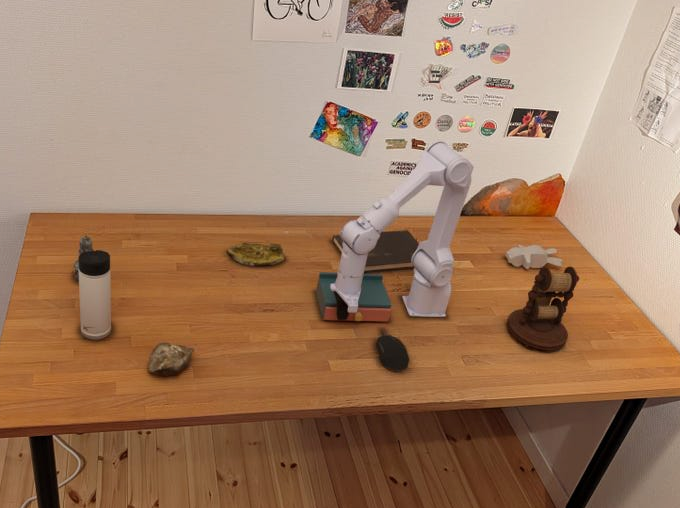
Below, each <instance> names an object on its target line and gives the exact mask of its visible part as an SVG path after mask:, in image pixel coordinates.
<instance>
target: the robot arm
mask: <svg viewBox="0 0 680 508" xmlns="http://www.w3.org/2000/svg"><path fill="white" fill-rule="evenodd" d="M474 167H475V166H474V165H473V164H472V163H471V162H470V160H469V159H468V158H466V157H464V156H463V155H462V154H460V153H458V151H456V150H454V149H453V148H452V147H450V145H448V144H447V142H445V141H443V140H436V141H433V142H432V143H431V144H430V145H429V146H428V147H426V149H425V150H424V151H423V152H421V154H420V155H419V159H418V163H417V165H416V167H414V168H413V170H412V171H411V172H410V173H409V174H408V175H407V177H406V178H405V179H404V180H403V181H401V183H400V184H399V185H398V186H397V187H396V188H395V189H394V190H393V191H392V193H390V195H389V196H381V197H379V198H378V199H377V200H376V201H375V202H373V204H372V205H371V206H369V208H367V210H365V211H364V212H363V213H362V215H360V216H359V217H358V218H356V219H352V220H350V221H348V222H346V223H345V224H344V225H343V227H342V229H341V230H340V231H339V235H340V237H341V238H342V240H343V244H342V246H343V249H342V255H341V254H340V255H341V256H340V261H339V266H338V270H337V273H338V274H337V279H336V282H335V283H334V284H331V285H330V288H331V290H332V291H334V295H335V299H336V304H337V318H338V320H337V321H347V320H346V319H347V318H348V315H349V312H350V313H357V309H358V301H359V296H360V292H361V284H362V279H363V274H365V273H364V270H365V265H366V260H367V256H368V252H369V251H371V250H372V249H373V248H374V247H375V245H376V243H377V240H378V239H379V238H380V235H379V234H380V233H381V232H385V230H386V229H387V228H388V227H389V226H390V225H392V224H393V222H394V221H395V220H397V219H398V218H399V216H400V209H401V208H402V207H403V206H404V205H406V204H407V203H408V202H409V201H410V200H412V199H413V198H414V197H415V196H416V195H419V193H420V192H421V191H423V189H425V188H427V187H428V186H435V187H436V186H437V187H443V189H442V192H441V195H440V199H439V201H438V205H437V208H436V211H435V215H434V218H433V221H432V224H431V226H430V230H429V233H428V237H427V239H426V240H423V241H420V242H418V243H419V246H418V248H417V250H416V251H415V253H414V254H413V256H412V258H411V264H412V265H413V266H414V268H413V270H412V272H413V278H412V281H411V284H410V285H411V286H410V289H409V293H408V295H402V296H401V298H402V301H403V303H404V307H405V308H406V311H407V314H408V316H409V317H418V318H419V317H422V318H423V317H424V318H425V317H427V318H445V317H447V315H446V311H447V308H448V305H449V301H450V299H451V294H452V284H451V283H452V282H451V280H452V277H453V274H454V268H453V267H454V263H455V259H454V255H453V253H452V251H451V248H450V247H451V244H452V241H453V238H454V235H455V232H456V229H457V226H458V223H459V220H460V218H461V214H462V210H463V208H464V205H465V202H466V199H467V196H468V193H469V190H470V186H471V184H472V173H473V170H474Z"/></svg>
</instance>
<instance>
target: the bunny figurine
mask: <svg viewBox="0 0 680 508" xmlns="http://www.w3.org/2000/svg"><path fill="white" fill-rule="evenodd" d="M557 252H558V250H557V249H556V248H554V247H551V248H547V249H544V248H543V247H542V246H541V245H538V244H531V245H528V246H524V245H523V244H518V245H517V246H513V247H511V248H510V249H508V250H505V258H506V259H507V262H508V264H511V265H512V266H513V267H517V268H519V267H521V266H522V267H524V269H526V270H529V269H530V268H532V269H539V268H540V269H541V268H542V267H544V266H546V264H547V263H548V264H551V265H554V266H557V267H562V266H563V265H564V264H563V263H564V260H563V259H562V258H559V257H553V256H552V255H556V254H557ZM551 256H552V257H551Z"/></svg>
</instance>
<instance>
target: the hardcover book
mask: <svg viewBox="0 0 680 508" xmlns="http://www.w3.org/2000/svg"><path fill="white" fill-rule="evenodd" d="M379 235H380V238H379V239H378V240H377V243H376V245H375V247H374V248H373V249H372V250H371V251H369V252H368V256H367V260H366V265H365V270H364V274H366V273H374V272H375V273H376V272H386V271H396V270H407V269H414V266H413V265H412V264H411V258H412V256H413V254H414V253H415V251H416V250H417V248H418V246H419V243H420V242H418V240H417V239H416V238H415V237H414V236H413V234H412V233H411V232H410V231H409V230H408V229H402V230H388V231H385V230H384V231H383V232H381V233H380V234H379ZM331 241H332V243H333V244H334V246H335V248H336V249H337V251H338V252H339V254H340V255H342V249H343V246H342V244H343V240H342V238H341V237H340V234H333V235H332V240H331Z"/></svg>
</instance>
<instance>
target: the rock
mask: <svg viewBox="0 0 680 508" xmlns="http://www.w3.org/2000/svg"><path fill="white" fill-rule="evenodd" d="M194 351H195V348H194V347H190V346H187V345H181V344H171V343H170V342H159V343H158V344H156V345H155V347H154V348H153V349H152V351H151V354H150V359H149V362H148V366H147V369H148V371H149V373H152V374H156V375H159V376H172V375H175V374H178V373H180V372H181V371H182V370H184V369H186V368H187V367H188V366H189V364H190V361H191V357H192V354H193V353H194Z"/></svg>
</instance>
